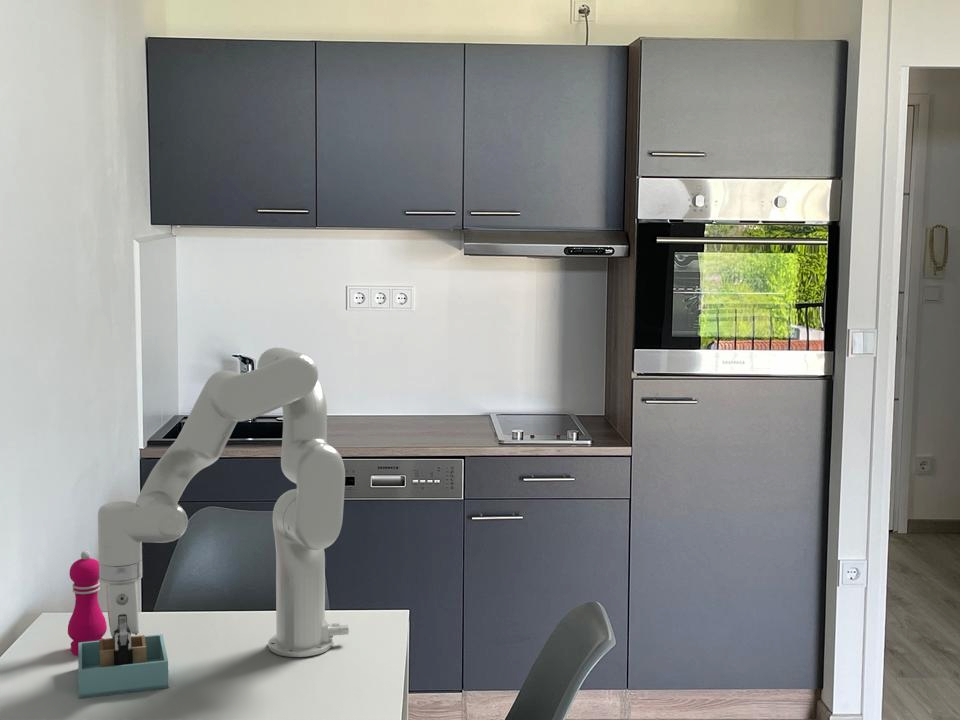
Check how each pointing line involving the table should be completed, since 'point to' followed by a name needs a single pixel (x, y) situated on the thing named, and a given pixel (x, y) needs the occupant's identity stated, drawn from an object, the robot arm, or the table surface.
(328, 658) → the table surface
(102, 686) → the big crate
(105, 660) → the small crate
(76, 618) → the pepper mill
